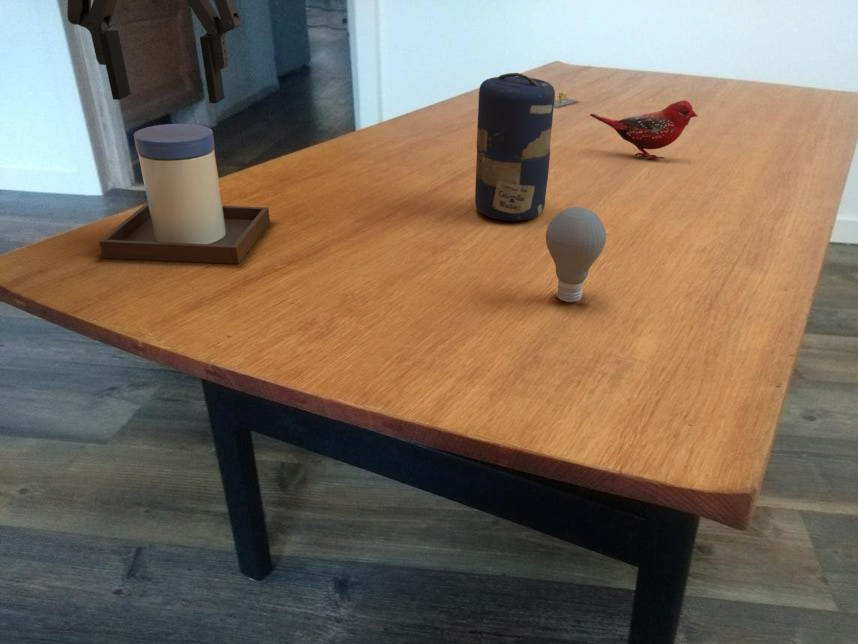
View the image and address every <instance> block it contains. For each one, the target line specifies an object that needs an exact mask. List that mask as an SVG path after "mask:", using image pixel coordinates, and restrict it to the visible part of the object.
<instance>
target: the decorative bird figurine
mask: <svg viewBox="0 0 858 644" xmlns="http://www.w3.org/2000/svg"><path fill="white" fill-rule="evenodd" d="M589 116H591V117H592V118H594V119H596V120H597V121H599V122H602V123H604V124H605V125H607V126H609V127H611V128H612V129H613V130H615V132H616V133H617V134H618V135H619V136H620V137H621V138H622V139H623V140H624V141H626V142H628V143H630V144H632V145H633V146H635V147H636V148H637V149H638V150H639V151H640V152H637V153H635V154H634V156H638V158H645V159H646V158H647V159H650V160H659V159H661V160H662V159H663V160H665V159H666V157H664V156H657V155H656V154H650V153H649V152H647V151H646V150H658V149H663V148H665V147H668V146H669V145H671V144H672V143H673V142H675V141H677V140H678V138H679V137H680V136H681V135H682V134H683V131H684V130H685V128H686V127H687V126H689V123H690V121H691V118H698V114H697V112H695V111H694V108H693V106H692V104H691V103H690V102H689V101H687V100H679V101H676V102H673V103H671V104H669V105H668V106H667V107H665V108H663V109H661V110H659V111H655V112H650V113H643V114H638V115H633V116H629V117H626V118H622V119H619V120H617V119H612V118H608V117H605V116H602V115H598V114H595V113H590V114H589Z"/></svg>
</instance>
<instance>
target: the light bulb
mask: <svg viewBox="0 0 858 644" xmlns="http://www.w3.org/2000/svg"><path fill="white" fill-rule="evenodd" d="M606 241H607V231H606V228H605V225H604V223H603V221H602V220H601V217H599V216H598V214H596V213H595V212H594V211H593V210H590V209H588V208H587V207H582V206H571V207H567V208H564V209H562V210H561V211H559V212H558V213H557V214H556V215H555V216H554V217H553V218H552V219H551V221H550V222H549V224H548V226H547V228H546V231H545V244H546V247H547V250H548V252H549V254H550V257H551V258H552V260H553V263H554V265H555V274H556V278H557V279H558V281H557V285H558V286H557V292H556V297H557V298H558V299H559V300H561V301H563V302H566V303H574V302H578V301H580V300H581V299H582V296H583V289H584V282H585V281H586V279H587V278H588V276H589V272H590V269H591V267H592V266H593V265H594V264H595V262H596V261H597V259H598V258H599V257H600V256H601V254H602V252H603V251H604V248H605V245H606V243H607V242H606Z"/></svg>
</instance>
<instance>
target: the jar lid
mask: <svg viewBox="0 0 858 644" xmlns="http://www.w3.org/2000/svg"><path fill="white" fill-rule="evenodd" d="M133 139H134V140H133V141H134V144H135V150H136V152H137V155H138V154H140V155H142V156H145V157H149V158H156V159H182V158H190V157H196V156H200V155H204V154H207V153H209V152H211V151H213V150H214V151H215V148H216V146H215V145H216V144H215V138H214V132H213V129H211V127H208V126H205V125H201V124H195V123H194V124H193V123H167V124H157V125H152V126H147V127H144V128H140V129H139V130H136V131H135V132H134V133H133Z"/></svg>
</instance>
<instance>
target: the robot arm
mask: <svg viewBox="0 0 858 644" xmlns="http://www.w3.org/2000/svg"><path fill="white" fill-rule="evenodd" d="M185 1H186V2H187V4H188V5H189V7H190V9H191V10H192V13H194V15H195V16H196V18H197V19H198V21H199V23H200V24H201V26H202V27H203V29H204V31H205V32H206V33H204V34H203V35H202V36H199V42H200V49H201V55H202V61H203V62H202V63H203V69H204V75H205V82H206V89H207V96H208V101H209V102H208V103H209V104H218V103H220V102H221V101H222V100H224V99H225V90H224V83H223V76H222V70H224V69H226V68H227V67H228V65H229V56H228V49H227V42H226V35H227V33H228V32H230V31H232V30H235V29H237V28H239V27H241V25H242V22H243V21H242V18H241V15H240V13H239V10H238V7H237V4H236V2H235V1H236V0H213V2H214V5H215V7H216V9H215V7H214V5H213V4H212V3H211V1H210V0H185ZM117 2H118V0H67V13H66V14H67V15H66V16H67V20H68V22H69V23H70V24H71V25H75V26H80V27H81V28H82V27H83V28H85V29H86V30H88V32H89V33H90V36H91V41H92V46H93V49H94V53H95V54H94V56H95V58H96V61H97V63H98V65H100V66H105V68H106V73H107V78H108V82H109V88H110V91H111V97H112V100H115V101H116V100H118V101H120V100H123V99H125V98H127V97H129V96H131V95H132V93H131V88H130V84H129V78H128V74H127V68H126V63H125V58H124V53H123V48H122V44H121V38H120V34H119V30H118V29H111V28H112V27H113V24H111V21H112V18H113V15H114V12H115V9H116V5H117Z"/></svg>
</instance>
